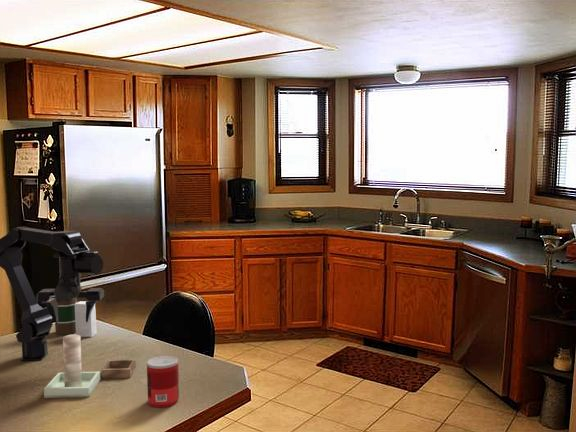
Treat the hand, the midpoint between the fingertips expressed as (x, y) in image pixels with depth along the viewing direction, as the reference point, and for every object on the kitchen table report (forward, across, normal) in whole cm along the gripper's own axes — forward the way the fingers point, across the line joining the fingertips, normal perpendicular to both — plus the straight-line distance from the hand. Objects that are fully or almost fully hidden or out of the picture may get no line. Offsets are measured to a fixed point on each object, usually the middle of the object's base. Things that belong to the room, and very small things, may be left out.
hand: (72, 322), depth 173 cm
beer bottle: (+13, -12, +32) cm, 37 cm away
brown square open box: (+13, +16, -9) cm, 22 cm away
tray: (+13, +6, -20) cm, 25 cm away
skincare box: (+13, -4, +28) cm, 31 cm away
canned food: (+13, +32, -30) cm, 46 cm away
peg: (+12, +6, -20) cm, 24 cm away
